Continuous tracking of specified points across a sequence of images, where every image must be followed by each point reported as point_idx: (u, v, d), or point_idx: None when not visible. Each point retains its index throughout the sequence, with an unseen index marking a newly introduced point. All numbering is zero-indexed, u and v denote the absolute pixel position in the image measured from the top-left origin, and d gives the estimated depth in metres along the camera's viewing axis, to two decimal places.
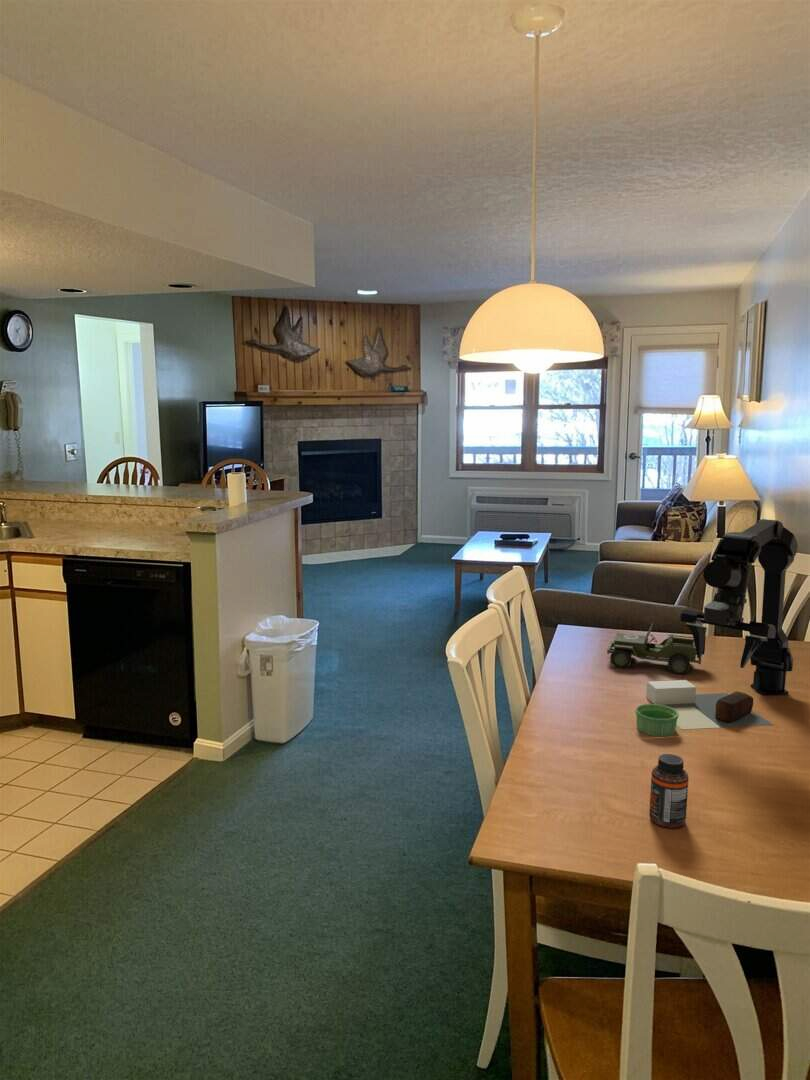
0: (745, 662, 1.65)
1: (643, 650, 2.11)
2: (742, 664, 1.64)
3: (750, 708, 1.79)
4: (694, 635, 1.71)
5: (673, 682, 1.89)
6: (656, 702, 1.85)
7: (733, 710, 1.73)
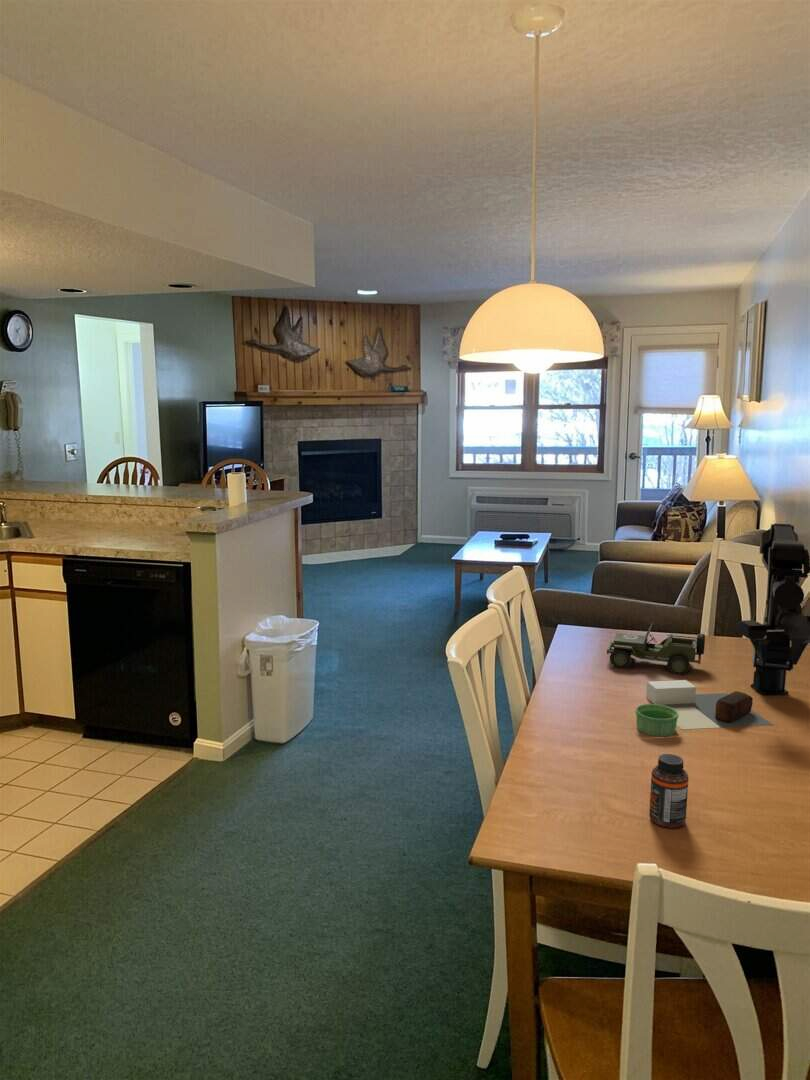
0: None
1: (643, 650, 2.11)
2: (796, 661, 1.78)
3: (749, 708, 1.80)
4: (762, 647, 1.75)
5: (673, 682, 1.89)
6: (656, 702, 1.85)
7: (733, 710, 1.73)
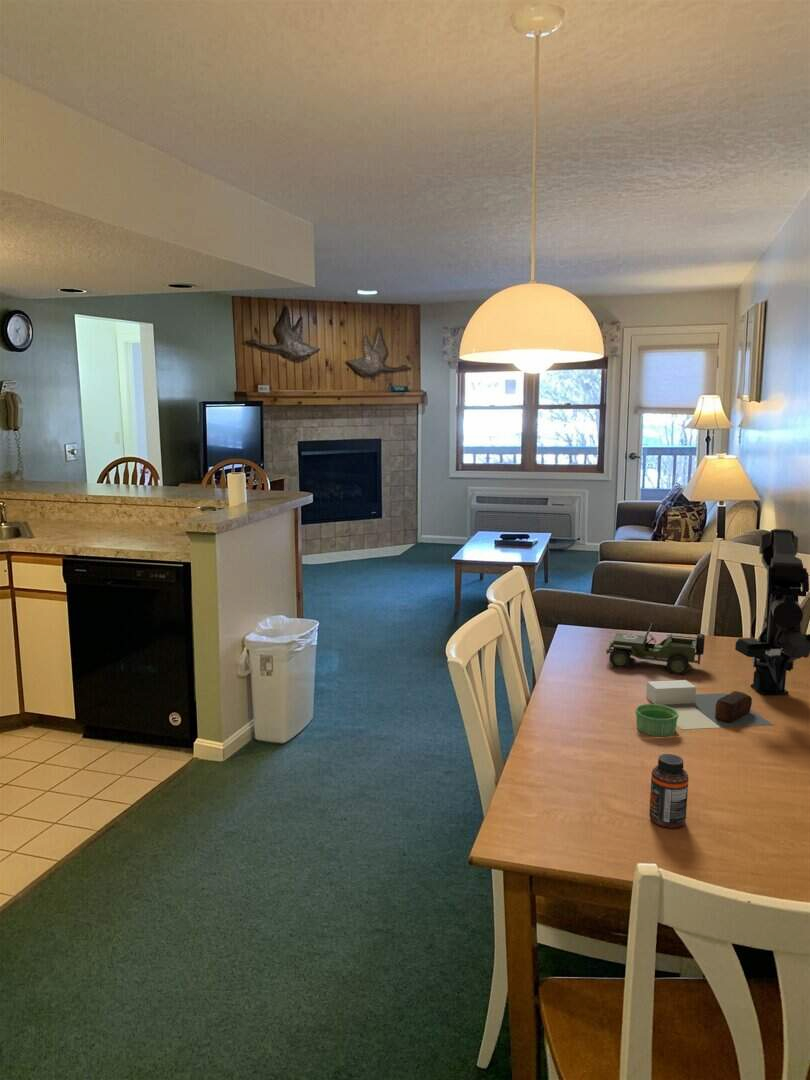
0: None
1: (642, 650, 2.11)
2: (780, 680, 1.78)
3: (749, 708, 1.80)
4: (776, 664, 1.76)
5: (673, 682, 1.89)
6: (656, 702, 1.85)
7: (733, 710, 1.73)
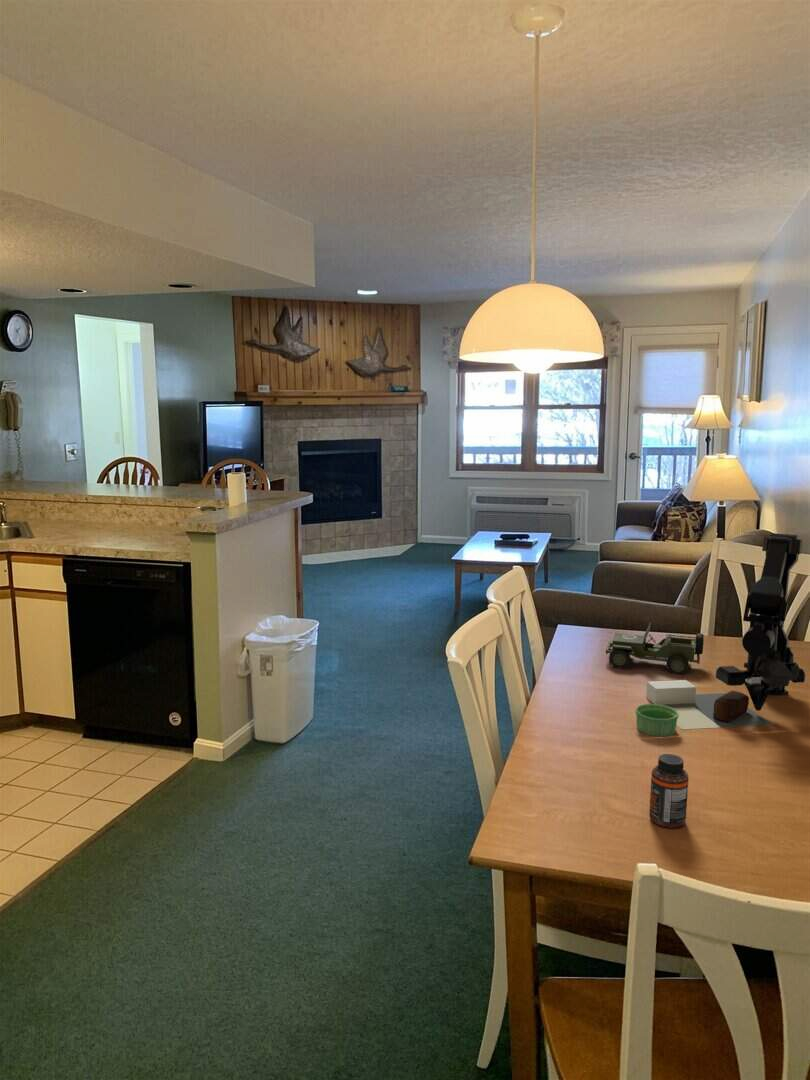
0: None
1: (642, 650, 2.11)
2: (761, 707, 1.78)
3: (746, 707, 1.80)
4: (757, 692, 1.77)
5: (673, 682, 1.89)
6: (656, 702, 1.85)
7: (731, 709, 1.74)
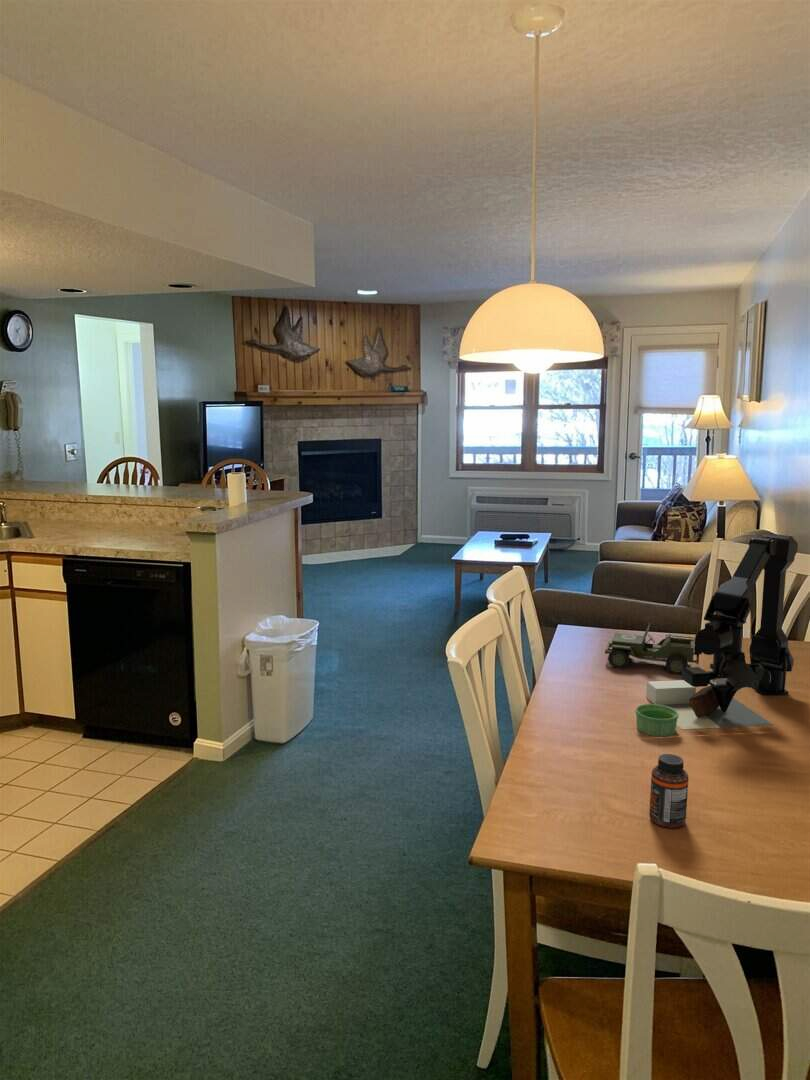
0: None
1: (641, 650, 2.11)
2: (726, 709, 1.77)
3: None
4: (722, 693, 1.76)
5: (673, 682, 1.89)
6: (656, 702, 1.85)
7: (706, 699, 1.75)
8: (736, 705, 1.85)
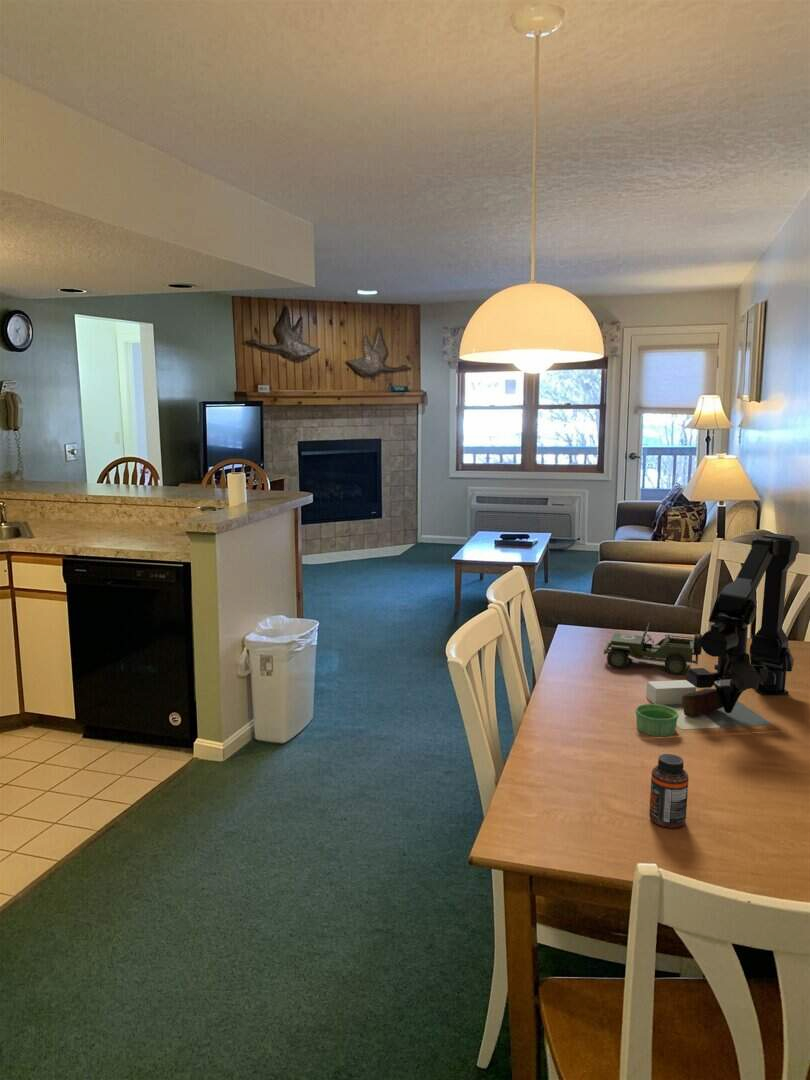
0: None
1: (640, 650, 2.11)
2: (731, 710, 1.78)
3: (721, 702, 1.81)
4: (726, 694, 1.76)
5: (673, 682, 1.89)
6: (656, 702, 1.85)
7: (697, 702, 1.75)
8: (736, 705, 1.85)
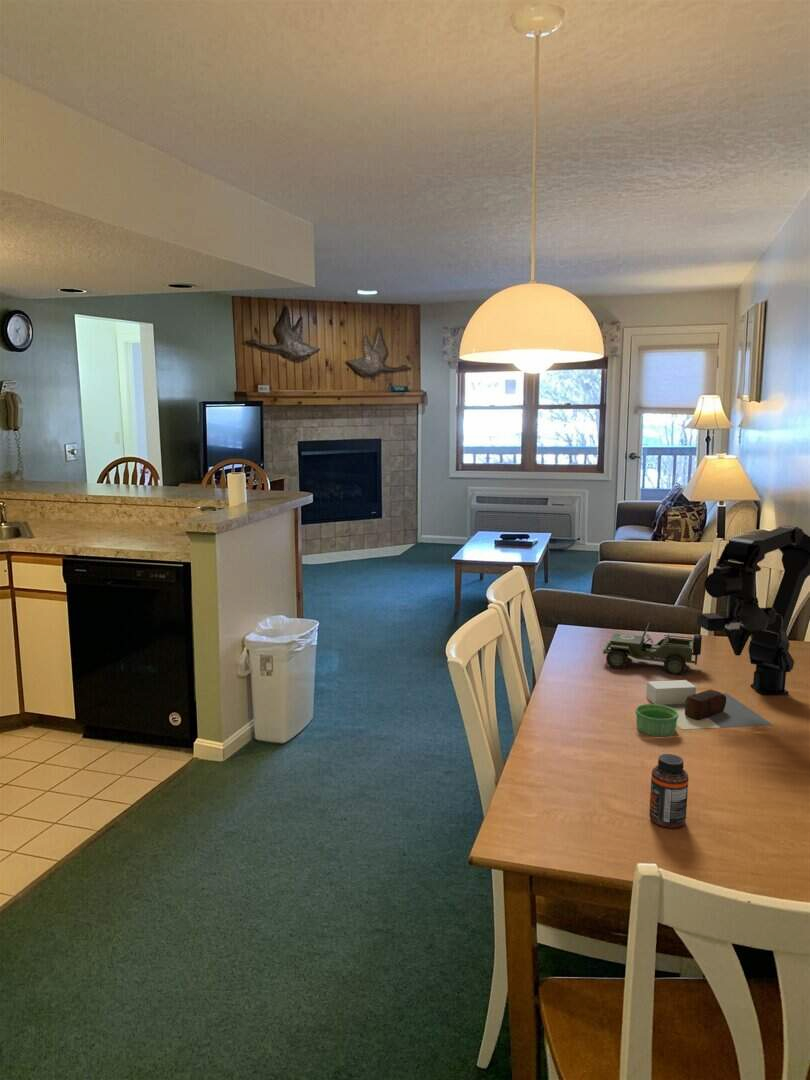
0: None
1: (639, 650, 2.11)
2: (740, 652, 1.85)
3: (722, 706, 1.80)
4: (736, 637, 1.83)
5: (673, 682, 1.89)
6: (656, 702, 1.85)
7: (701, 707, 1.75)
8: (736, 705, 1.85)
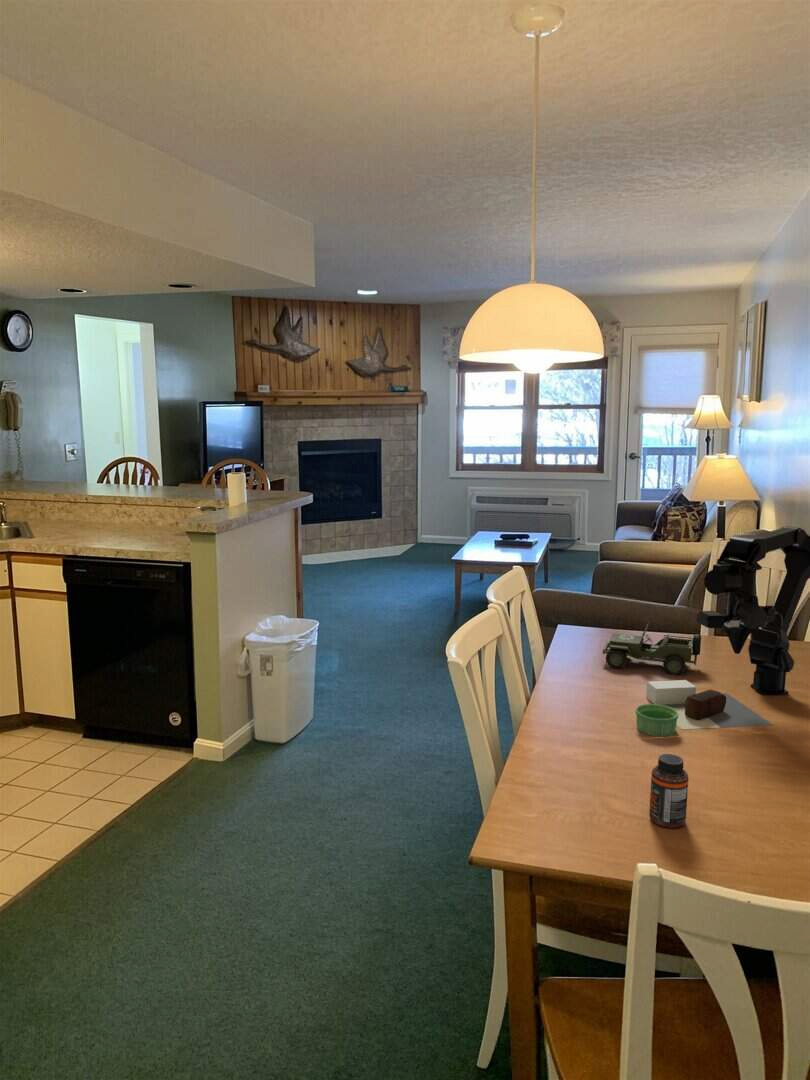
0: None
1: (638, 650, 2.11)
2: (740, 651, 1.85)
3: (722, 706, 1.80)
4: (735, 635, 1.84)
5: (673, 682, 1.89)
6: (656, 702, 1.85)
7: (701, 707, 1.75)
8: (736, 705, 1.85)
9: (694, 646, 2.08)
